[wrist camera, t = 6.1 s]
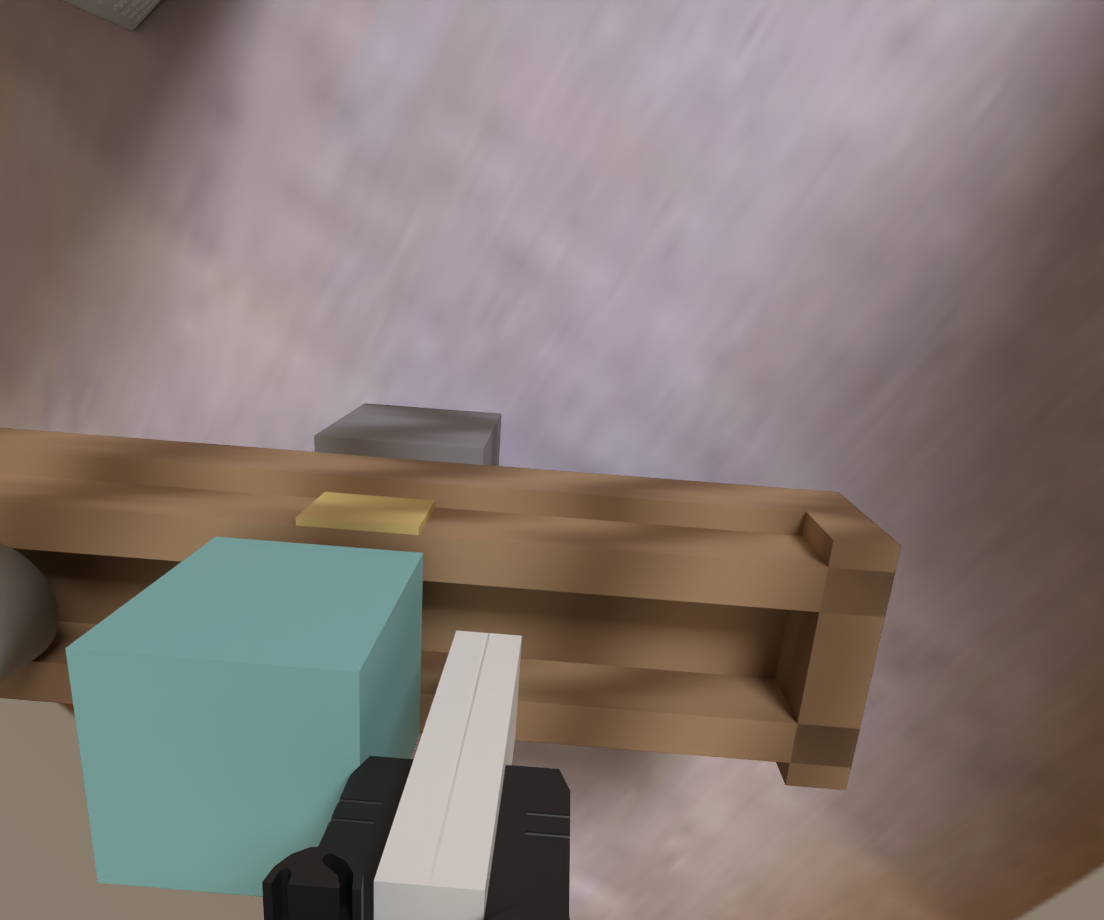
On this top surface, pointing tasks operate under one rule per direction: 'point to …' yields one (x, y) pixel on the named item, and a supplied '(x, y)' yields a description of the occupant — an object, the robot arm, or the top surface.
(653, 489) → the beam
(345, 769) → the block
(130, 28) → the skincare box
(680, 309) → the top surface
